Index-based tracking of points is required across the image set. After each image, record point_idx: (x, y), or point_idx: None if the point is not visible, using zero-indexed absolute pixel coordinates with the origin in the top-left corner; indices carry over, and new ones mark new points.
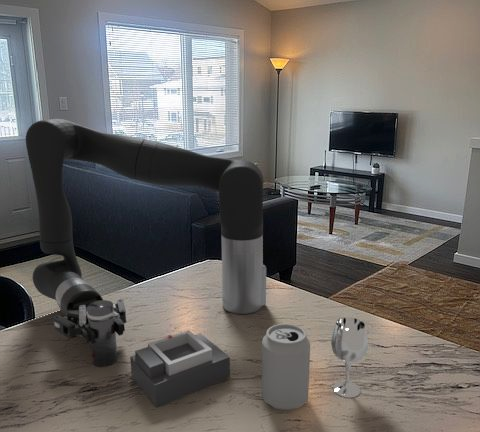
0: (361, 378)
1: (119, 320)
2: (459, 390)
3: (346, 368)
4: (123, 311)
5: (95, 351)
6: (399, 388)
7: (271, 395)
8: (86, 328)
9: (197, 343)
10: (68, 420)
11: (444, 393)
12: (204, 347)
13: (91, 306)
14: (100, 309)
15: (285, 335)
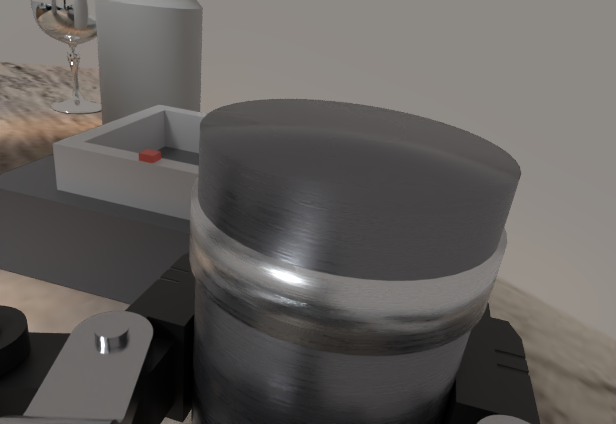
0: (31, 100)
1: (167, 290)
2: (27, 67)
3: (78, 62)
4: (1, 312)
5: None
6: (46, 86)
7: (198, 110)
8: (493, 363)
9: (134, 128)
10: (595, 349)
11: (41, 72)
12: (158, 111)
13: (456, 168)
14: (399, 119)
15: None
